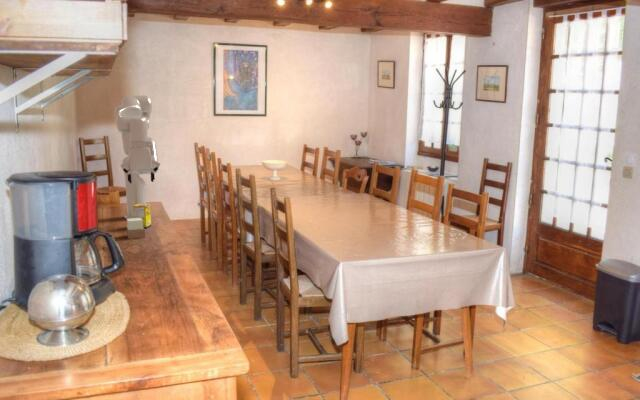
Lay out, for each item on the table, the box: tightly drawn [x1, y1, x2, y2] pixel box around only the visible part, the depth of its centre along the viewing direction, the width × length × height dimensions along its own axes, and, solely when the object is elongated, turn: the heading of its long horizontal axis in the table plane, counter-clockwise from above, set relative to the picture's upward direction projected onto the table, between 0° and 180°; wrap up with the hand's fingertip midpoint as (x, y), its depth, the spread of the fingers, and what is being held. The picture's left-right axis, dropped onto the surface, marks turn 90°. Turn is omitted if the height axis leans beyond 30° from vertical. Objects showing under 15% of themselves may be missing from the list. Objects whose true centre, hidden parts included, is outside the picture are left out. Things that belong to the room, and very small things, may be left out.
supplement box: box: [133, 203, 152, 229], centre depth 274 cm, size 6×6×11 cm
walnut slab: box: [126, 227, 146, 240], centre depth 256 cm, size 7×7×4 cm
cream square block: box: [126, 218, 143, 230], centre depth 255 cm, size 6×6×4 cm
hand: (141, 182), depth 267 cm, fingers open, 9 cm apart
